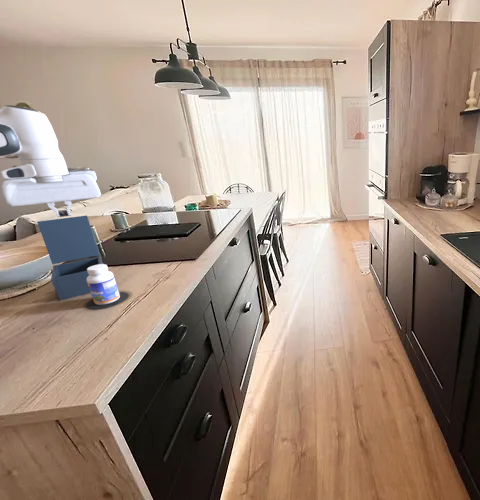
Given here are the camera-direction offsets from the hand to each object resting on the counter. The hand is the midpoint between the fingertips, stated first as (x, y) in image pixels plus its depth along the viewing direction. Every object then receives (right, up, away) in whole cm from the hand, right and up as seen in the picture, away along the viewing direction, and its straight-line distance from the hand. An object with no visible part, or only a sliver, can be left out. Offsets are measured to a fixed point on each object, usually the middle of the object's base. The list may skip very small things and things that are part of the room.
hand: (64, 216), depth 87 cm
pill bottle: (+22, -24, -10) cm, 34 cm away
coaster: (+22, -24, -10) cm, 34 cm away
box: (+9, -21, -3) cm, 23 cm away
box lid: (+4, -7, -3) cm, 9 cm away
